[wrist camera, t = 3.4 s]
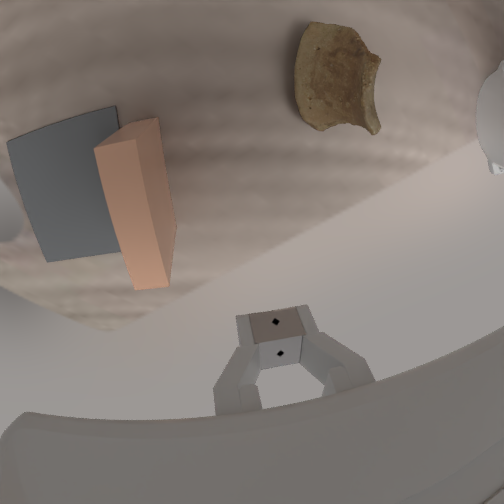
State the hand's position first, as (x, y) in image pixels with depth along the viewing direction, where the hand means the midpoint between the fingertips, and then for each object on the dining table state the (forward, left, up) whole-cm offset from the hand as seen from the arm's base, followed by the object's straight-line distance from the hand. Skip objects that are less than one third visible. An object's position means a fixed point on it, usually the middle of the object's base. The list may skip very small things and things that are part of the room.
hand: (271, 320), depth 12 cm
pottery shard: (-8, -9, -21) cm, 24 cm away
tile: (+8, 0, -20) cm, 22 cm away
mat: (+17, 0, -20) cm, 27 cm away
